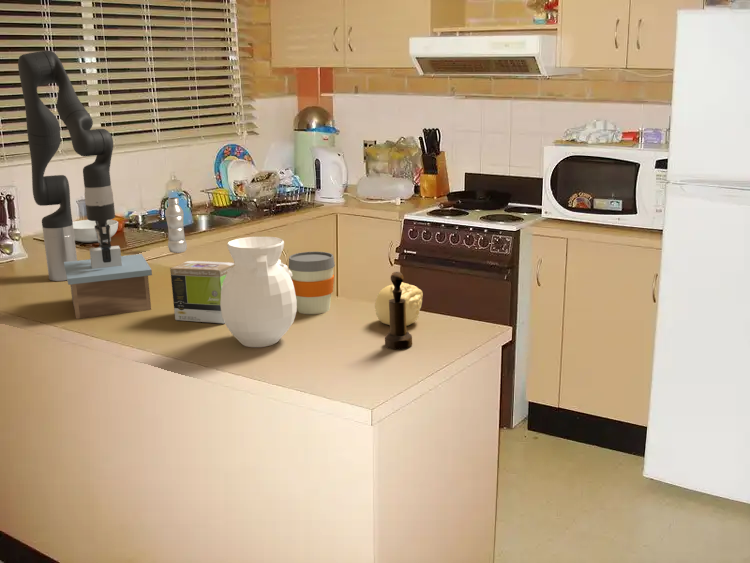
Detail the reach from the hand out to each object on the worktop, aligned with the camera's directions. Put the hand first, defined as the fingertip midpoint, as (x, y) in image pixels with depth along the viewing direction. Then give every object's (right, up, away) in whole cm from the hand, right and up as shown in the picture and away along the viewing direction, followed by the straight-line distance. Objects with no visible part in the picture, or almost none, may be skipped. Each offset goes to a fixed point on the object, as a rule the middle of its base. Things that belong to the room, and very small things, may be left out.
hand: (105, 259), depth 241 cm
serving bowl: (-35, +10, +95) cm, 102 cm away
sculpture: (+82, -17, -20) cm, 86 cm away
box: (0, -13, +3) cm, 14 cm away
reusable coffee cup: (+59, -14, -6) cm, 61 cm away
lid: (0, -3, +1) cm, 4 cm away
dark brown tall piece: (+82, -22, -37) cm, 92 cm away
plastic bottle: (+5, +4, +69) cm, 69 cm away
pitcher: (+48, -21, -31) cm, 61 cm away
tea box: (+31, -16, -11) cm, 37 cm away
